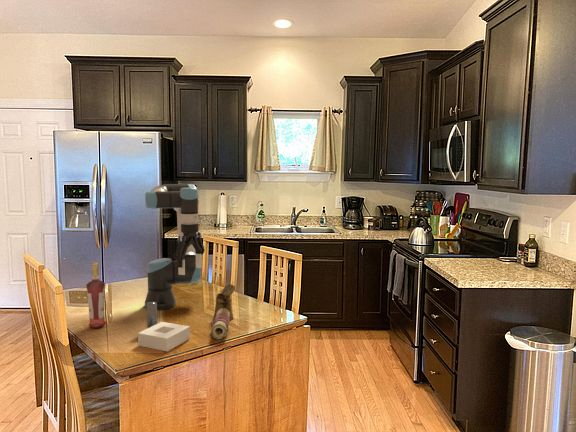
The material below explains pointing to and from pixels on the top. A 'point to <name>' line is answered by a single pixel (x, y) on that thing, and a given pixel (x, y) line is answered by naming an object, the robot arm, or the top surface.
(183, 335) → the socket
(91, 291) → the liquor
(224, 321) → the scroll
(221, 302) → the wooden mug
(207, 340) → the top surface
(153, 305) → the peg
